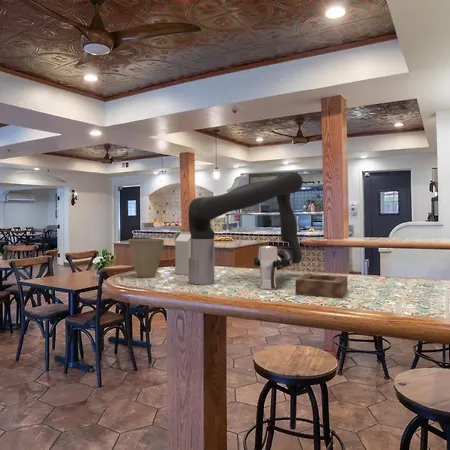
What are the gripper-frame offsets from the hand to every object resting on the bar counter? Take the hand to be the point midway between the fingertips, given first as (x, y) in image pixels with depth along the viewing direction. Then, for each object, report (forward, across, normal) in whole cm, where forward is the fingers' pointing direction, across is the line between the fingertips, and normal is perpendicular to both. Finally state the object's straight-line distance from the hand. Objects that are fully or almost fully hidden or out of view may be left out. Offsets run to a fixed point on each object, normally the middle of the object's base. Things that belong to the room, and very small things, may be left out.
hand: (266, 263), depth 141 cm
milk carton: (-20, -44, +9) cm, 49 cm away
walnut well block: (-2, +19, +9) cm, 22 cm away
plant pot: (-6, -56, +9) cm, 57 cm away
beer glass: (-2, 0, +9) cm, 9 cm away
